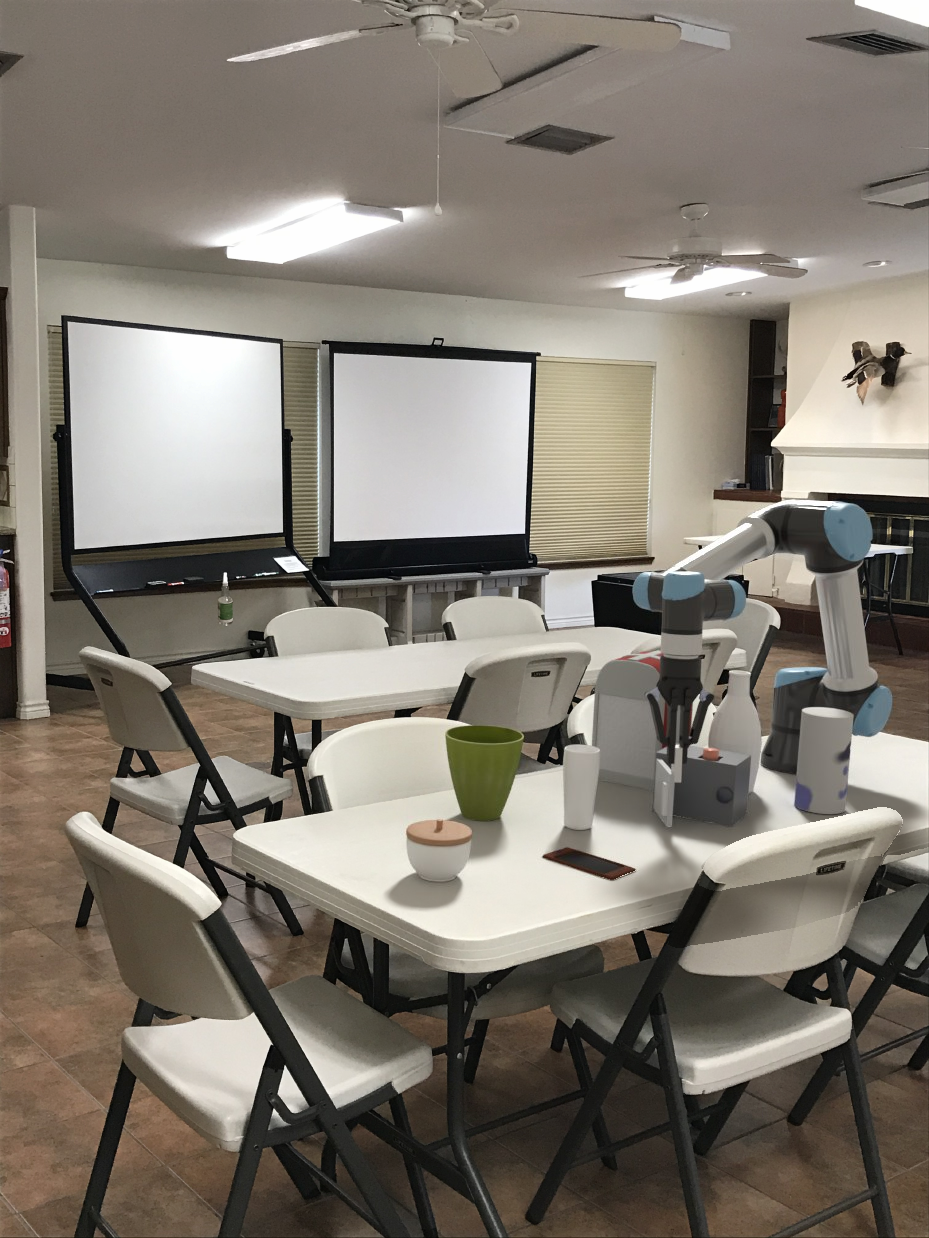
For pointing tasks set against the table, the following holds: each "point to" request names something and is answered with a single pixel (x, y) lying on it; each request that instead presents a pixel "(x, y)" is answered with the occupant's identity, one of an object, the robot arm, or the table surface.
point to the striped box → (629, 719)
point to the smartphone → (588, 863)
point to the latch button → (711, 754)
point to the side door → (664, 792)
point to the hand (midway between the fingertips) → (675, 780)
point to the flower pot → (483, 768)
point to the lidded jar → (438, 848)
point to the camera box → (711, 786)
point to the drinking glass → (580, 785)
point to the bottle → (738, 723)
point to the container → (823, 760)
